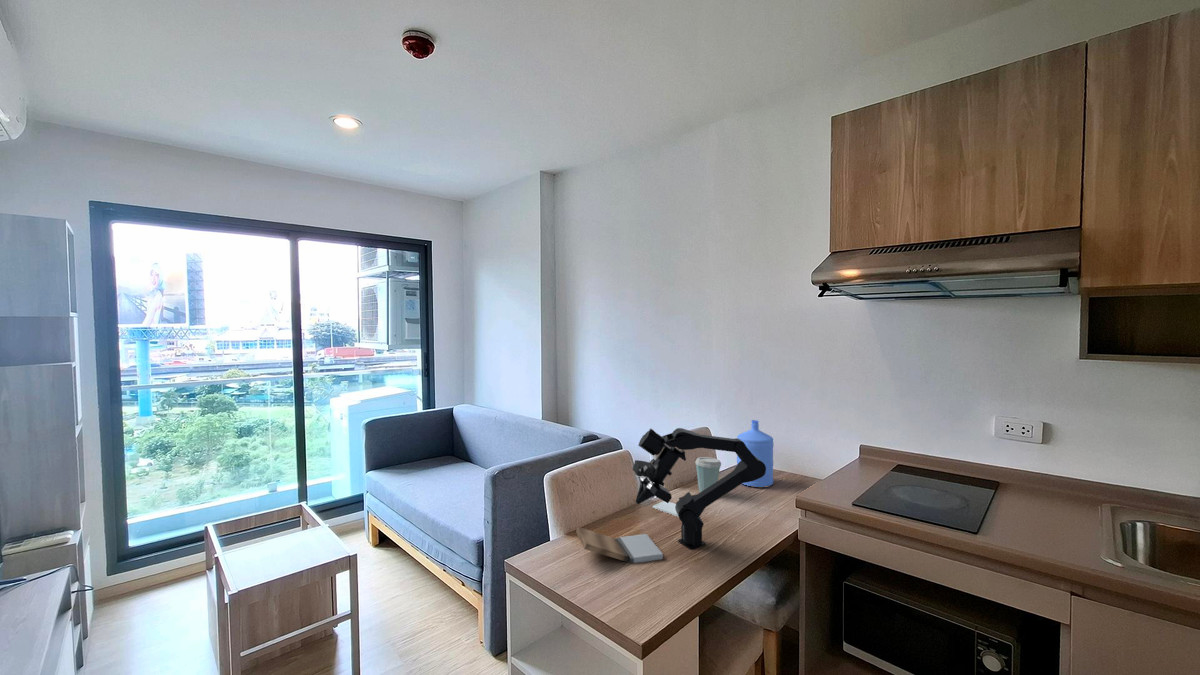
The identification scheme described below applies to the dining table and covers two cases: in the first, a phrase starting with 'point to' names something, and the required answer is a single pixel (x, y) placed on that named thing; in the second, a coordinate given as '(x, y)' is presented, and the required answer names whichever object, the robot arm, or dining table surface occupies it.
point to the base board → (640, 548)
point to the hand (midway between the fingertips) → (636, 503)
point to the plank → (601, 544)
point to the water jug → (759, 452)
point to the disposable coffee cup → (707, 471)
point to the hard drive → (666, 507)
